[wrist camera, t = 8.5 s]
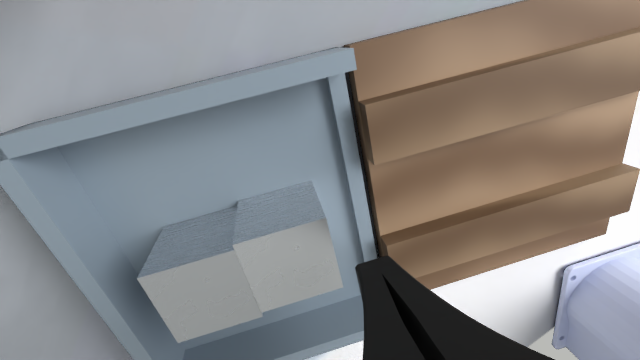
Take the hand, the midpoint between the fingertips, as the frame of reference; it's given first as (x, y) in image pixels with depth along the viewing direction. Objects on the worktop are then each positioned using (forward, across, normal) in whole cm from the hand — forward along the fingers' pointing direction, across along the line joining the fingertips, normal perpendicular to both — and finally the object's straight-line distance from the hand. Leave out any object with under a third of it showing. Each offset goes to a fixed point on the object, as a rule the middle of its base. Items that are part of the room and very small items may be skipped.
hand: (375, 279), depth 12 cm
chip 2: (+6, +3, 0) cm, 7 cm away
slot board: (+7, -10, 0) cm, 12 cm away
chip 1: (+6, +7, 0) cm, 9 cm away
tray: (+6, +6, 0) cm, 9 cm away
